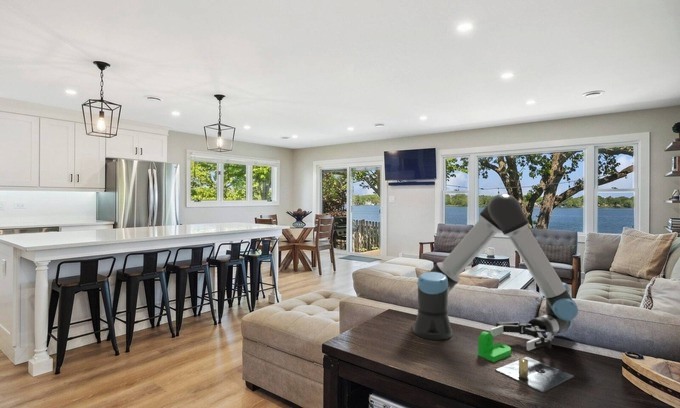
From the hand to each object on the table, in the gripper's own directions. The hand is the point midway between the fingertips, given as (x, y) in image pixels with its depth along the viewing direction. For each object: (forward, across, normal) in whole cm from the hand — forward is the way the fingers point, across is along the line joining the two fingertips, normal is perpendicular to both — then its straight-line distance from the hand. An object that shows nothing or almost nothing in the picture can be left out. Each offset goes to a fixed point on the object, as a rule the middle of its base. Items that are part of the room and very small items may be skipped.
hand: (508, 339), depth 125 cm
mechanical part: (+2, +3, -6) cm, 7 cm away
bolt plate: (+5, -12, -6) cm, 14 cm away
